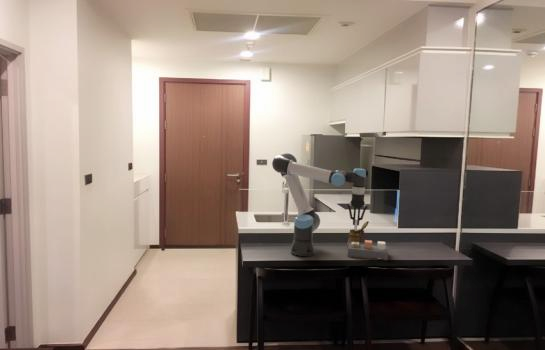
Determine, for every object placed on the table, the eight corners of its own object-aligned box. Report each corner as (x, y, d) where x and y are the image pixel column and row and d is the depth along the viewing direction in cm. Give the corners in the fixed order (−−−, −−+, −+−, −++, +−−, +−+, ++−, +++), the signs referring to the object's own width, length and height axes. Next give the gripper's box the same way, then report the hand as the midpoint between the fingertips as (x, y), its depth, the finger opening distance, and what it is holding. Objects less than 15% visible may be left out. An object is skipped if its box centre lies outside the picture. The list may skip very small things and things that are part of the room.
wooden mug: (368, 249, 265) (370, 222, 262) (347, 248, 265) (349, 222, 263) (365, 245, 274) (367, 219, 271) (345, 244, 274) (347, 218, 272)
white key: (377, 250, 249) (377, 243, 249) (377, 248, 254) (377, 241, 253) (384, 251, 248) (385, 244, 248) (384, 249, 253) (385, 241, 252)
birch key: (351, 251, 253) (351, 243, 253) (351, 248, 258) (351, 241, 257) (358, 251, 252) (358, 244, 252) (358, 249, 257) (358, 242, 256)
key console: (347, 256, 250) (348, 248, 250) (348, 250, 262) (349, 242, 261) (387, 260, 245) (388, 252, 244) (386, 254, 257) (387, 246, 256)
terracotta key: (364, 249, 251) (364, 242, 251) (364, 247, 256) (364, 239, 255) (371, 250, 250) (372, 242, 250) (371, 248, 255) (372, 240, 254)
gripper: (347, 193, 248) (344, 230, 251) (369, 195, 245) (366, 232, 248) (347, 191, 255) (345, 227, 258) (369, 193, 252) (366, 229, 255)
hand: (355, 230), depth 253 cm, fingers closed
